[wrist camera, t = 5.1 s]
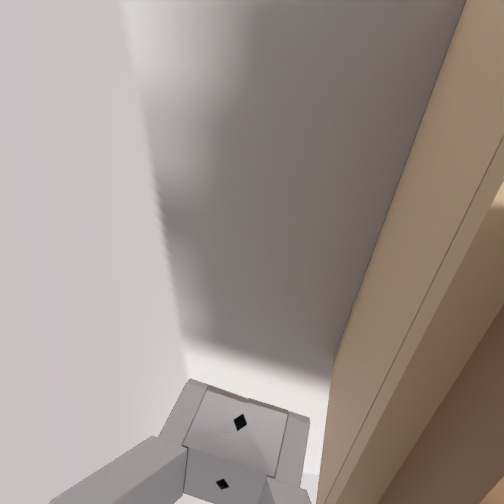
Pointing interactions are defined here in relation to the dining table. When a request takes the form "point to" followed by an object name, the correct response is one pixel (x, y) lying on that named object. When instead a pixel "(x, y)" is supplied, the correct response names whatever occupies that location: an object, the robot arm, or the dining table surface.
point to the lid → (444, 381)
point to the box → (419, 223)
